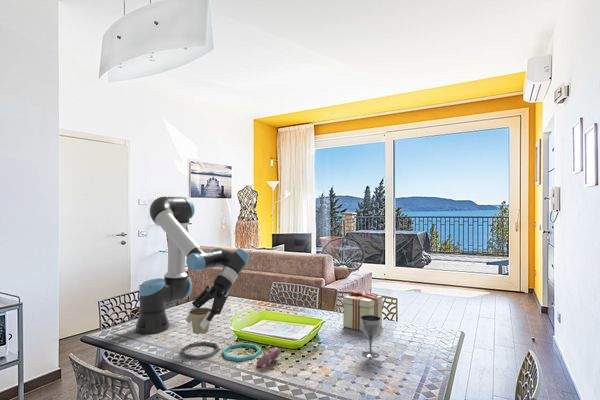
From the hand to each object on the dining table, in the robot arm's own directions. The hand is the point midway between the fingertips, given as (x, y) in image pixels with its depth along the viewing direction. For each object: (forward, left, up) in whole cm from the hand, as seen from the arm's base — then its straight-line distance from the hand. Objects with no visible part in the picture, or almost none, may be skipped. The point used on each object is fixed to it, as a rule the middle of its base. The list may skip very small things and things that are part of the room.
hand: (194, 324), depth 152 cm
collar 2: (+8, +18, -12) cm, 23 cm away
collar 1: (-1, +3, -12) cm, 12 cm away
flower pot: (-1, +3, -4) cm, 5 cm away
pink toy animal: (+21, +25, -12) cm, 35 cm away
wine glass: (+32, +65, -12) cm, 73 cm away
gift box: (+1, +83, -12) cm, 84 cm away
